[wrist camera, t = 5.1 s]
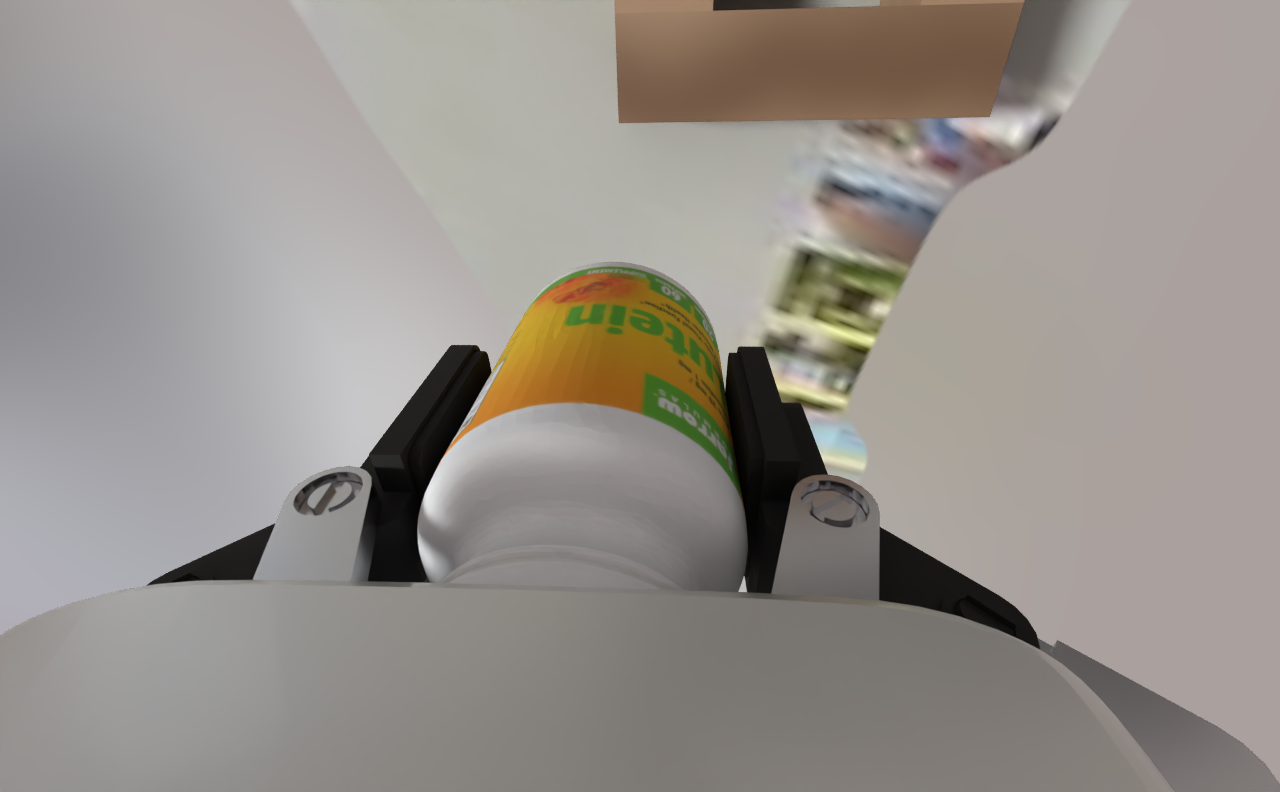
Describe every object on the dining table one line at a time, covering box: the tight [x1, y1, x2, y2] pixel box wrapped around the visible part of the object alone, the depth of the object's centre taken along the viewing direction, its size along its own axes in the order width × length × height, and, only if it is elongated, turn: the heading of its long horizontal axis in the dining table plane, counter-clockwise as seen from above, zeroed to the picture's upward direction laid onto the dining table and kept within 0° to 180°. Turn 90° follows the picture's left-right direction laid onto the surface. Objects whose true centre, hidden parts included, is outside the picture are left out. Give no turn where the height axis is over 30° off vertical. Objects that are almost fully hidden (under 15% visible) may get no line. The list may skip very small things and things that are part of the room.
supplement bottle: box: [417, 262, 748, 592], centre depth 10 cm, size 5×5×10 cm
